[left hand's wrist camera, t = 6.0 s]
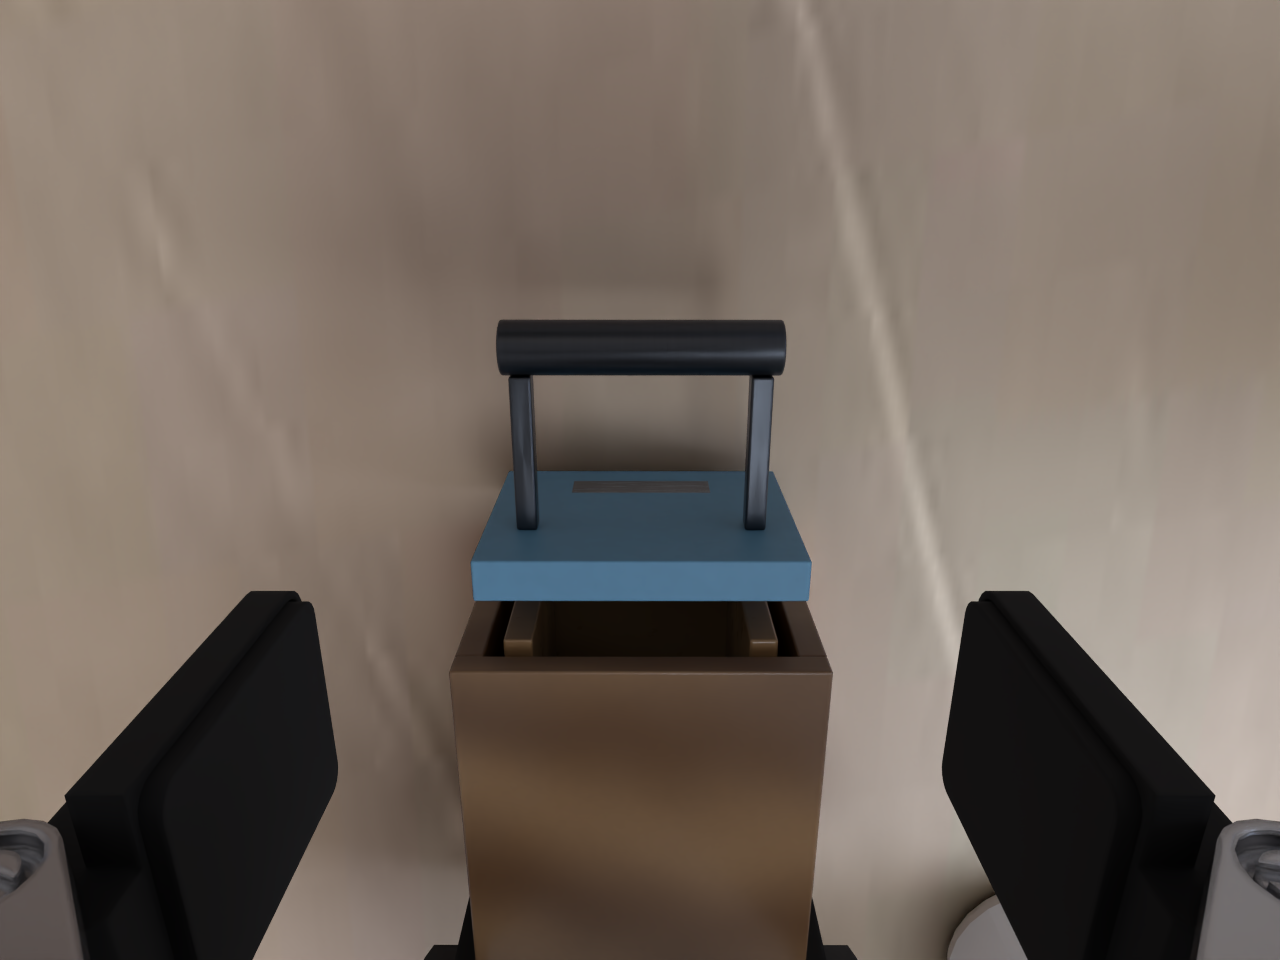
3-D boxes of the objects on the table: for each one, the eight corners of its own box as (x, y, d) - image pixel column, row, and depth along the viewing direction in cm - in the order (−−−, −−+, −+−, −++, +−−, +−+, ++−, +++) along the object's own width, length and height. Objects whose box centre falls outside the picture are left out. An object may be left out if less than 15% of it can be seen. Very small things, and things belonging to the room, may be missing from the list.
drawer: (498, 293, 27) (452, 336, 20) (783, 294, 27) (830, 336, 20) (528, 817, 34) (501, 973, 28) (752, 817, 34) (779, 973, 28)
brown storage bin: (499, 534, 31) (448, 671, 22) (782, 535, 31) (833, 672, 22) (521, 874, 36) (485, 1084, 28) (759, 874, 36) (795, 1084, 28)
